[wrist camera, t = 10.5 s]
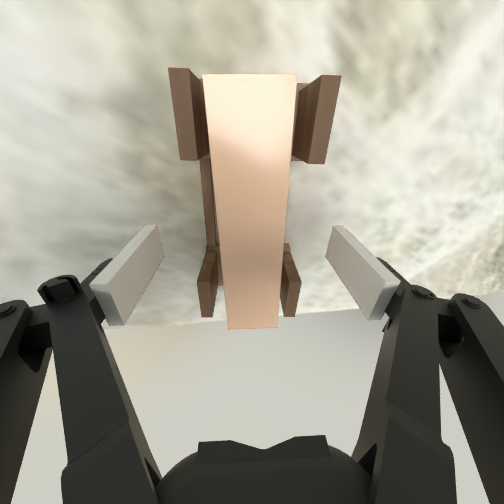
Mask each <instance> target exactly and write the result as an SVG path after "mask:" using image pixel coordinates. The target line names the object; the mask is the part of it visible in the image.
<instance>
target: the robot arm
mask: <svg viewBox="0 0 504 504" xmlns="http://www.w3.org/2000/svg"><path fill="white" fill-rule="evenodd" d="M325 257H326V258H327V260H328V261H329V263H330V264H331V266H332V267H333V269H334V270H335V272H336V273H337V275H338V276H339V278H340V279H341V281H342V282H343V284H344V285H345V287H346V288H347V290H348V291H349V293H350V294H351V296H352V297H353V299H354V300H355V302H356V303H357V305H358V306H359V308H360V309H361V311H362V312H363V314H364V315H365V317H366V318H367V320H381V319H382V317H383V315H384V313H385V312H386V314H387V315H388V316H389V319H388V321H387V323H386V325H385V327H384V329H383V330H382V332H384V336H383V340H382V344H381V348H380V353H379V357H378V361H377V365H376V369H375V373H374V377H373V381H372V386H371V389H370V394H369V398H368V402H367V406H366V410H365V414H364V418H363V422H362V426H361V430H360V435H359V438H358V441H357V444H356V446H355V449H354V451H353V454H352V456H351V457H350V456H349V455H347V454H346V453H344V452H342V451H341V450H339V449H337V448H334V447H332V446H329V445H328V444H327V440H326V437H325V435H317V436H299V437H293V438H291V439H289V440H286V441H284V442H282V443H279V444H277V445H275V446H272V447H270V448H268V449H258V448H255V447H252V446H248V445H245V444H242V443H238V442H235V441H231V440H227V441H209V442H199V444H198V452H196V453H193V454H191V455H189V456H188V457H186V458H184V459H183V460H181V461H180V462H179V463H178V464H176V465H175V466H174V467H173V468H172V469H171V470H170V471H169V472H168V473H167V474H166V475H165V476H164V477H163V478H162V476H161V474H160V471H159V469H158V467H157V464H156V462H155V460H154V458H153V456H152V453H151V451H150V449H149V446H148V444H147V441H146V438H145V436H144V433H143V431H142V428H141V425H140V423H139V420H138V418H137V415H136V413H135V410H134V408H133V405H132V402H131V400H130V397H129V395H128V392H127V389H126V387H125V384H124V382H123V379H122V377H121V374H120V371H119V369H118V366H117V364H116V361H115V359H114V356H113V353H112V351H111V348H110V346H109V343H108V340H107V338H106V335H105V333H104V330H103V328H102V326H101V323H102V322H103V320H104V319H105V318H106V320H107V322H108V324H109V326H115V325H125V323H126V322H127V320H128V318H129V317H130V315H131V313H132V311H133V310H134V308H135V306H136V304H137V303H138V301H139V299H140V298H141V296H142V294H143V292H144V291H145V289H146V287H147V286H148V284H149V282H150V280H151V279H152V277H153V275H154V273H155V272H156V270H157V268H158V267H159V265H160V263H161V261H162V260H163V258H164V254H163V249H162V245H161V240H160V236H159V231H158V227H157V225H145V226H144V227H143V228H142V229H141V231H140V232H139V233H138V234H137V235H136V236H135V237H134V238H133V239H132V240H131V241H130V242H129V243H128V244H127V245H126V246H125V247H124V248H123V249H122V250H121V251H120V252H119V254H118V255H117V256H116V257H115V258H110V259H108V260H106V261H104V262H103V263H101V264H100V265H99V266H98V267H97V268H96V270H94V271H93V272H92V273H91V275H89V276H88V277H87V278H86V279H85V280H84V281H83V282H82V283H81V284H80V283H79V281H78V279H77V278H76V277H75V276H74V275H62V276H58V277H55V278H52V279H50V280H48V281H46V282H44V283H43V284H42V285H41V286H39V288H38V290H37V291H38V293H39V294H40V296H41V297H42V299H43V300H44V301H45V303H46V304H43V305H38V306H33V307H29V305H28V304H27V303H26V302H25V301H24V300H14V301H9V302H6V303H2V304H0V504H11V500H12V497H13V493H14V489H15V486H16V482H17V478H18V475H19V471H20V467H21V464H22V460H23V456H24V452H25V449H26V445H27V442H28V438H29V434H30V431H31V427H32V423H33V420H34V416H35V412H36V409H37V404H38V401H39V398H40V394H41V390H42V387H43V383H44V379H45V376H46V372H47V368H48V364H49V361H50V357H51V354H52V350H53V353H54V361H55V368H56V375H57V383H58V389H59V398H60V405H61V412H62V420H63V427H64V434H65V441H66V448H67V456H68V464H67V466H66V467H65V469H64V470H63V471H62V476H61V489H62V499H63V504H457V497H456V483H455V466H454V458H453V453H452V451H451V449H450V447H449V446H447V445H446V444H444V443H443V441H442V439H441V417H440V381H439V364H440V366H441V369H442V372H443V375H444V377H445V380H446V383H447V386H448V388H449V391H450V394H451V397H452V400H453V403H454V405H455V408H456V411H457V414H458V416H459V419H460V422H461V425H462V427H463V430H464V433H465V436H466V439H467V442H468V444H469V447H470V450H471V452H472V455H473V458H474V461H475V464H476V466H477V469H478V472H479V475H480V478H481V481H482V483H483V486H484V489H485V492H486V494H487V497H488V500H489V503H490V504H504V326H503V325H502V324H501V322H500V321H499V320H498V318H497V317H496V316H495V314H494V313H493V312H492V310H491V309H490V308H489V307H488V306H487V305H486V304H485V303H484V302H482V301H481V300H480V299H478V298H475V297H474V296H470V295H467V294H461V293H458V294H455V295H454V296H453V297H452V298H451V300H447V299H442V298H437V297H436V295H435V294H434V293H433V292H431V291H430V290H428V289H426V288H424V287H421V286H418V285H411V284H410V283H408V282H407V281H406V280H405V279H404V278H403V277H402V276H401V275H400V274H399V273H398V272H396V271H395V270H394V269H393V268H391V266H390V265H389V264H388V263H387V262H385V261H384V260H382V259H380V258H378V257H375V256H374V255H373V254H372V253H371V252H370V251H368V250H367V249H366V248H365V247H364V246H363V245H362V244H361V243H360V242H359V241H358V240H357V239H356V238H355V237H354V236H353V235H352V234H351V233H350V232H349V231H348V230H347V229H346V228H344V227H343V226H333V229H332V233H331V237H330V241H329V244H328V248H327V252H326V256H325Z"/></svg>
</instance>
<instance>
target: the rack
mask: <svg viewBox="0 0 504 504" xmlns="http://www.w3.org/2000/svg"><path fill="white" fill-rule="evenodd" d="M168 72H169V79H170V86H171V94H172V101H173V109H174V116H175V123H176V131H177V138H178V146H179V153H180V160H193V161H198V160H199V159H200V170H201V181H202V192H203V203H204V214H205V225H206V236H207V246H206V254H205V257H204V260H203V264H202V267H201V270H200V273H199V276H198V280H197V286H198V294H199V301H200V309H201V316H202V317H213V312H214V306H215V300H216V294H217V288H218V285H224V282H223V273H222V263H221V253H220V243H216V231H215V215H214V200H213V185H212V170H211V155H210V145H209V135H208V125H207V116H206V106H205V96H204V86H203V79H198V78H197V77H196V76H195V75H194V74H193V73H192V72H191V71H190V69H188V68H168ZM340 81H341V76H334V75H321V76H320V77H318V78H317V79H316V80H314V81H313V82H311V83H310V84H304V83H297V85H296V98H295V110H294V123H293V135H292V148H291V161H304V162H306V163H308V164H325V158H326V153H327V148H328V143H329V138H330V133H331V128H332V122H333V117H334V112H335V107H336V102H337V97H338V92H339V87H340ZM300 287H301V280H300V277H299V274H298V272H297V269H296V266H295V264H294V261H293V258H292V256H291V253H290V246H289V244H284V248H283V261H282V273H281V286H280V300H281V305H282V309H283V314H284V317H295V312H296V307H297V302H298V297H299V292H300Z"/></svg>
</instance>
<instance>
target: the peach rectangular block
mask: <svg viewBox="0 0 504 504" xmlns="http://www.w3.org/2000/svg"><path fill="white" fill-rule="evenodd" d="M202 76H203V86H204V96H205V106H206V116H207V125H208V135H209V145H210V155H211V165H212V174H213V184H214V194H215V204H216V214H217V224H218V233H219V243H220V253H221V263H222V273H223V282H224V292H225V302H226V312H227V322H228V329H256V328H277V324H278V311H279V299H280V286H281V273H282V261H283V248H284V236H285V223H286V211H287V198H288V186H289V173H290V160H291V148H292V135H293V123H294V110H295V98H296V85H297V74H202Z"/></svg>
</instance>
